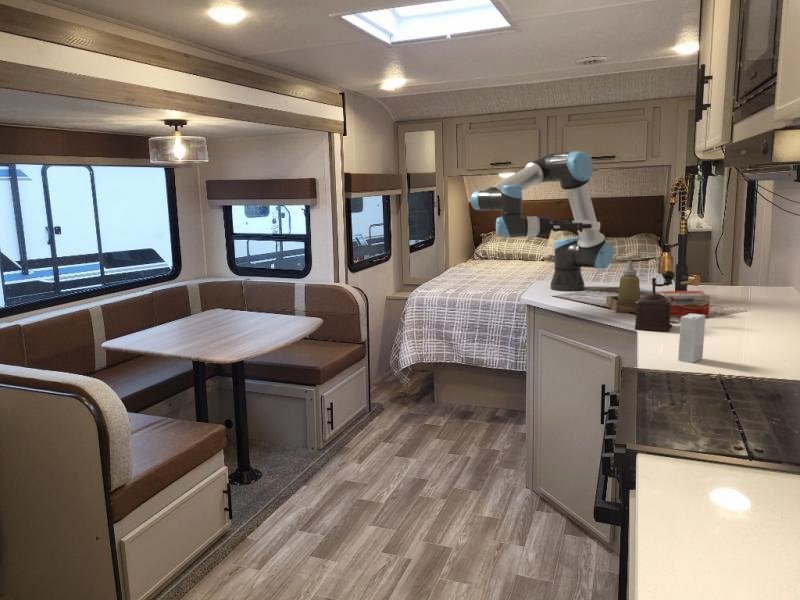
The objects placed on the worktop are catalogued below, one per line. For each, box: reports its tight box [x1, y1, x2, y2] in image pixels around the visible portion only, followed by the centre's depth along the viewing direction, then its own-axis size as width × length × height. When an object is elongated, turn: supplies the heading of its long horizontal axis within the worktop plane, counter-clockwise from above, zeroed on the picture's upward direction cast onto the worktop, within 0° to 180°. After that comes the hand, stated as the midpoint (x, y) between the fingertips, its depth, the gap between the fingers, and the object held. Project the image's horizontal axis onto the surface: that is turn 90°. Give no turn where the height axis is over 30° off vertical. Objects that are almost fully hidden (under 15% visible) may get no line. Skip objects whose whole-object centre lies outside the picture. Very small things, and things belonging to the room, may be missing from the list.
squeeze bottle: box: [617, 260, 641, 302], centre depth 233 cm, size 8×8×18 cm
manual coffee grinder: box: [634, 270, 676, 333], centre depth 204 cm, size 16×11×18 cm
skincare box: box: [677, 314, 706, 364], centre depth 165 cm, size 6×4×12 cm
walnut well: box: [605, 294, 644, 314], centre depth 234 cm, size 13×13×4 cm
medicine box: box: [659, 290, 711, 317], centre depth 222 cm, size 15×8×8 cm, turn 83°
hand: (594, 224), depth 232 cm, fingers open, 13 cm apart
